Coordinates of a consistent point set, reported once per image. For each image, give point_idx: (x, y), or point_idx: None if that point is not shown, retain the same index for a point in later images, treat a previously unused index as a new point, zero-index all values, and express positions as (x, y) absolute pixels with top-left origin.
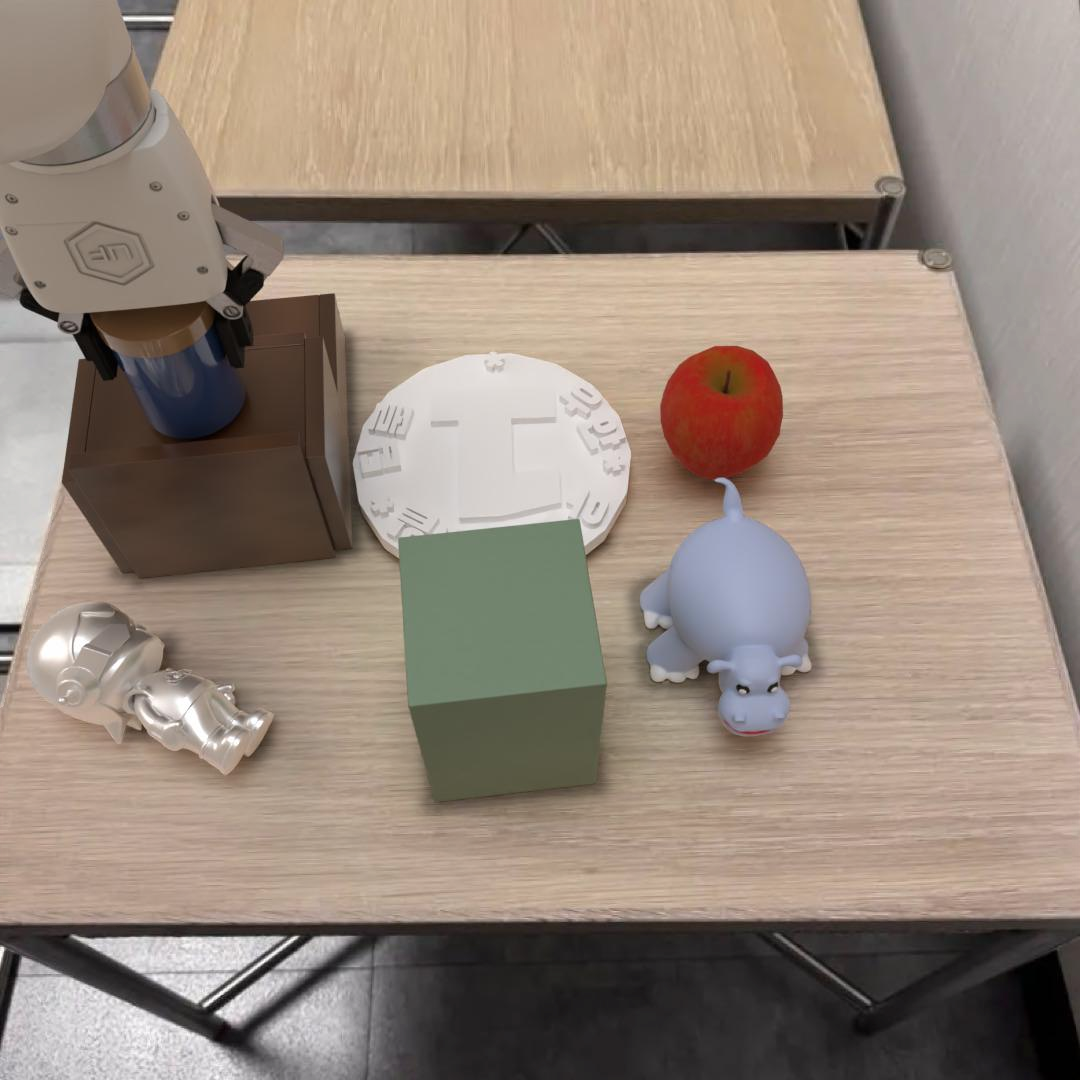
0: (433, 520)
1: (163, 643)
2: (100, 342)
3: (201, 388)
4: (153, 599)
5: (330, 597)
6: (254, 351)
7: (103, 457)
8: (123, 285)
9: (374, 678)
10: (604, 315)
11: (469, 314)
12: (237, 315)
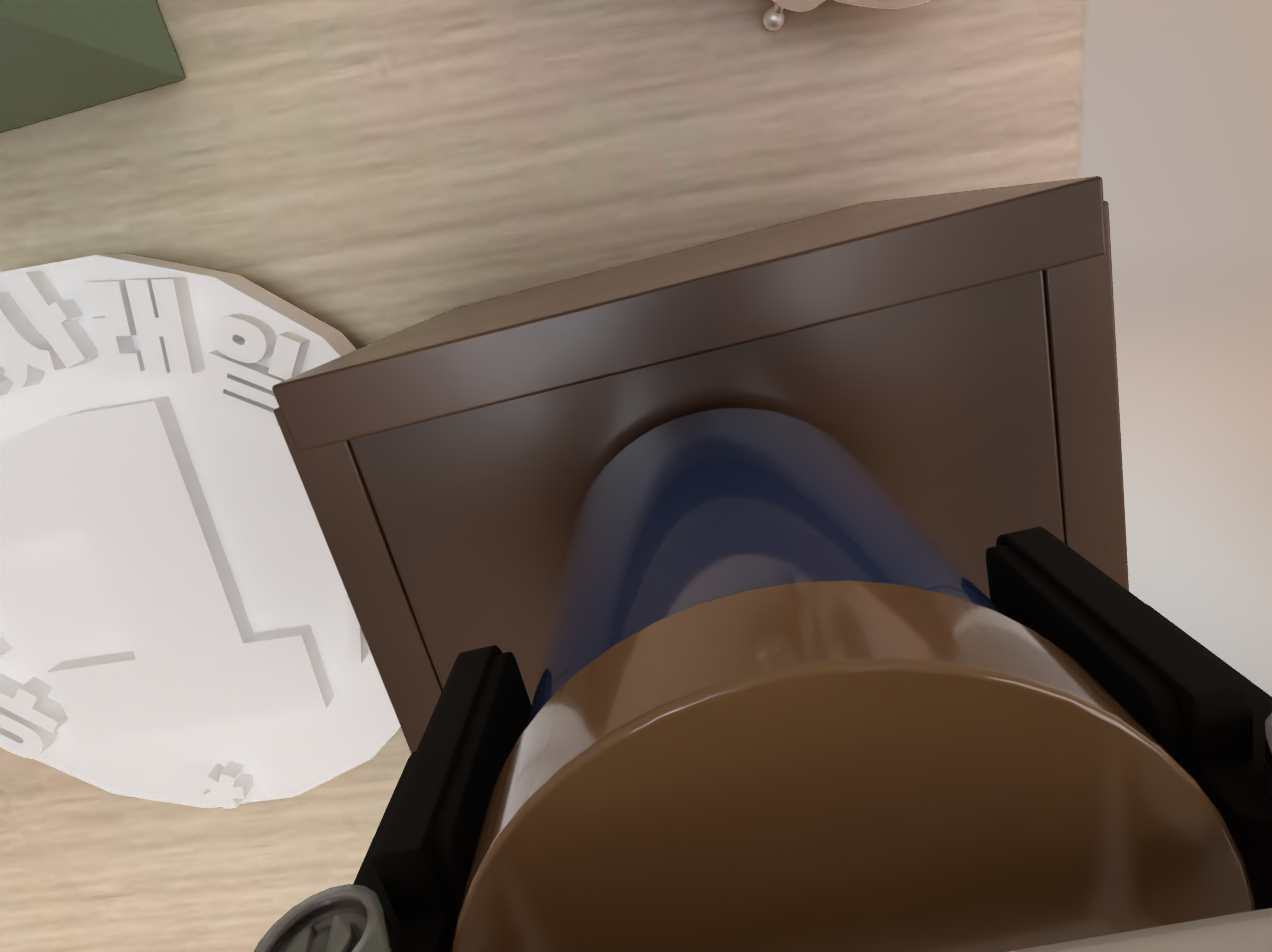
0: (206, 386)
1: (766, 24)
2: (1101, 679)
3: (607, 537)
4: (820, 152)
5: (435, 207)
6: None
7: (973, 249)
8: None
9: (277, 6)
10: (113, 898)
11: None
12: (315, 914)
